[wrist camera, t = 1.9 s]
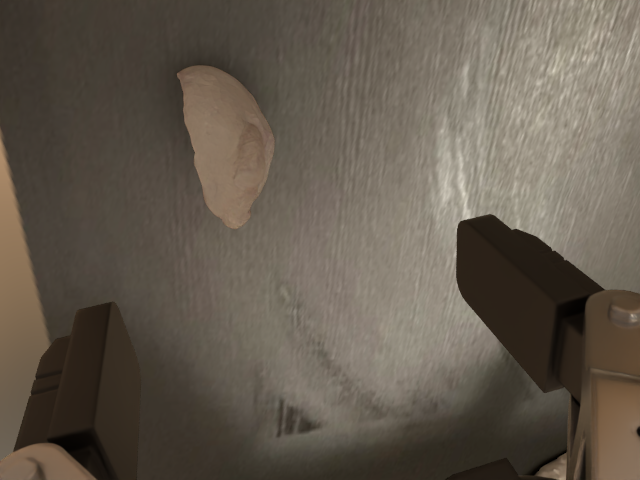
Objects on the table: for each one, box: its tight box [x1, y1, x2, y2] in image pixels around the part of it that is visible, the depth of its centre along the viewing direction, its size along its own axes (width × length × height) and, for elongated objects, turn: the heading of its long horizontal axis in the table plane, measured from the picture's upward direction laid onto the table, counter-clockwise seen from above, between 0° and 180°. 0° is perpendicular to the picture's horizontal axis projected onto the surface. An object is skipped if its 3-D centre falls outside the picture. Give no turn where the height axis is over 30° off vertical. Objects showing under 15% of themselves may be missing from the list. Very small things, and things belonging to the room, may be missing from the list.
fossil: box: [177, 65, 275, 229], centre depth 23 cm, size 6×4×10 cm, turn 12°
